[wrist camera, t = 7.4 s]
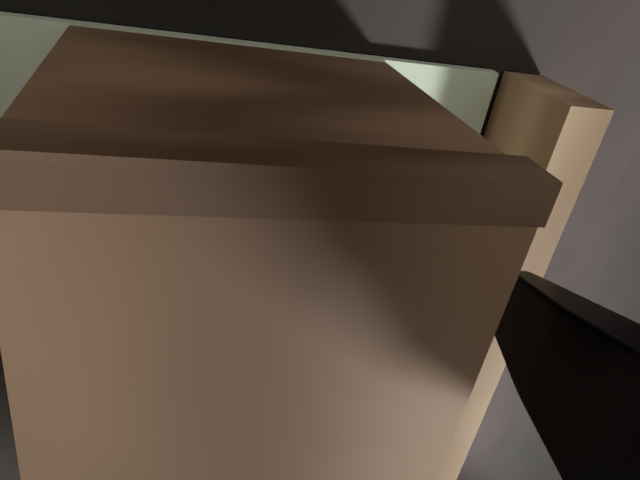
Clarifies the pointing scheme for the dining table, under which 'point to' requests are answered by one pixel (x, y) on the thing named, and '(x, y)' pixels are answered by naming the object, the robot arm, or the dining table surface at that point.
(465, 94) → the front pad
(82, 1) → the dining table surface
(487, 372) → the bay
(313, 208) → the crate
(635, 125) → the dining table surface
